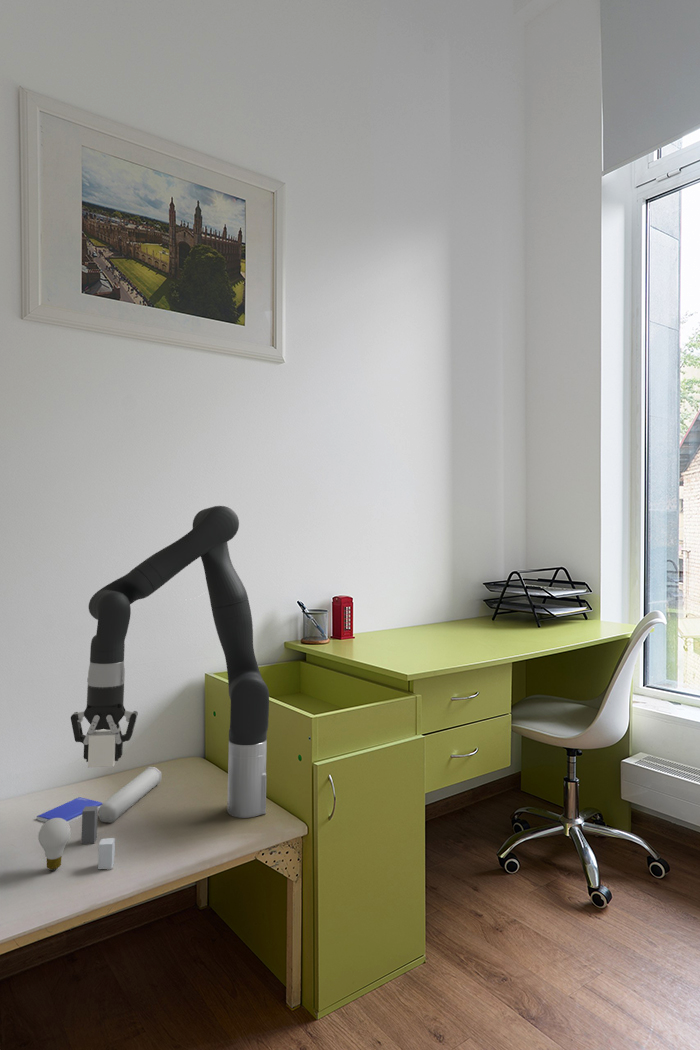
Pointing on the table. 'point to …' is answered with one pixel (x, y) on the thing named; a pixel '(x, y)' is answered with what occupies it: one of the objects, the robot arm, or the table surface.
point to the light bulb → (54, 840)
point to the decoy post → (106, 853)
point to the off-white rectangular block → (101, 749)
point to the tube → (129, 795)
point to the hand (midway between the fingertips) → (102, 760)
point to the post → (89, 824)
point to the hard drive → (69, 810)
